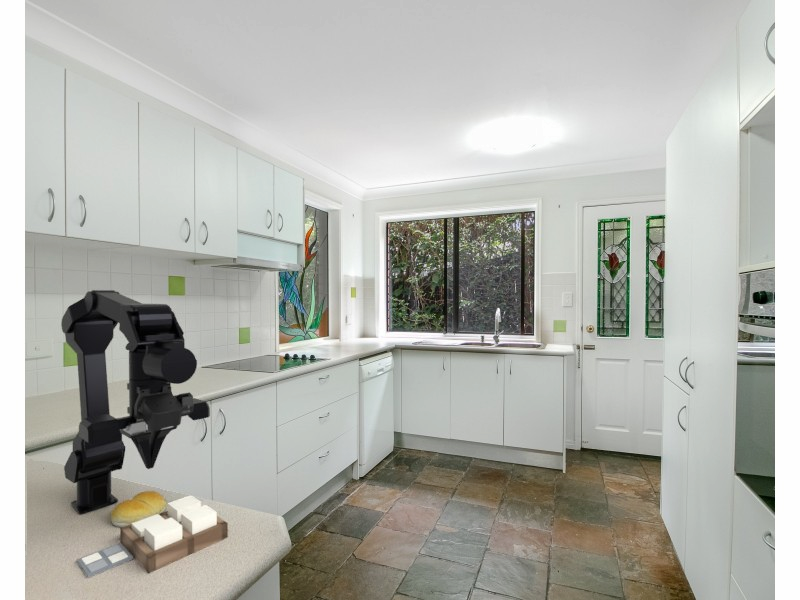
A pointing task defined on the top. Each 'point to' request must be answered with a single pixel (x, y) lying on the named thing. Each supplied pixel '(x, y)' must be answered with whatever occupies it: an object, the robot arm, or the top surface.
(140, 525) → the button
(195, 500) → the button
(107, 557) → the pattern card
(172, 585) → the top surface
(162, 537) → the button
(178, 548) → the brown flat square grid
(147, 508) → the bread roll
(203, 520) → the button
